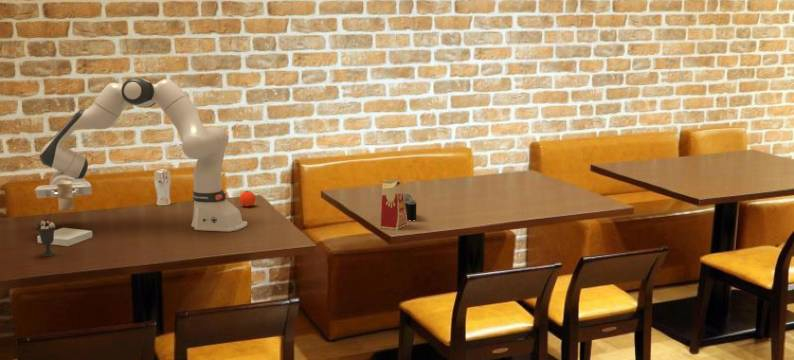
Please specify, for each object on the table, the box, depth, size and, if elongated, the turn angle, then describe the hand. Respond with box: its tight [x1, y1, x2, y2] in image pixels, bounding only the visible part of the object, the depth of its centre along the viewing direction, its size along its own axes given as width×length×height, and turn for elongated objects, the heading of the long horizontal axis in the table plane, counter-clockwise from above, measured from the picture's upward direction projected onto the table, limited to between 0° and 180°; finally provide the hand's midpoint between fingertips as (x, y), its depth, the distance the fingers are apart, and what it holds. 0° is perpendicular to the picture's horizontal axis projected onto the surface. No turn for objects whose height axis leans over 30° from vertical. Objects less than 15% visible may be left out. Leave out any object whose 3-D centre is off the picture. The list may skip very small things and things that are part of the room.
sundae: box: [35, 212, 57, 257], centre depth 340 cm, size 7×7×15 cm
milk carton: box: [379, 177, 408, 231], centre depth 378 cm, size 9×9×20 cm
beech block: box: [57, 181, 74, 211], centre depth 359 cm, size 5×5×10 cm
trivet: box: [36, 227, 93, 247], centre depth 361 cm, size 14×14×2 cm
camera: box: [403, 192, 417, 222], centre depth 394 cm, size 15×7×10 cm, turn 34°
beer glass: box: [153, 168, 172, 206], centre depth 419 cm, size 7×7×15 cm
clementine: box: [239, 190, 256, 208], centre depth 415 cm, size 8×7×7 cm
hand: (65, 194), depth 358 cm, fingers closed on beech block, 5 cm apart
